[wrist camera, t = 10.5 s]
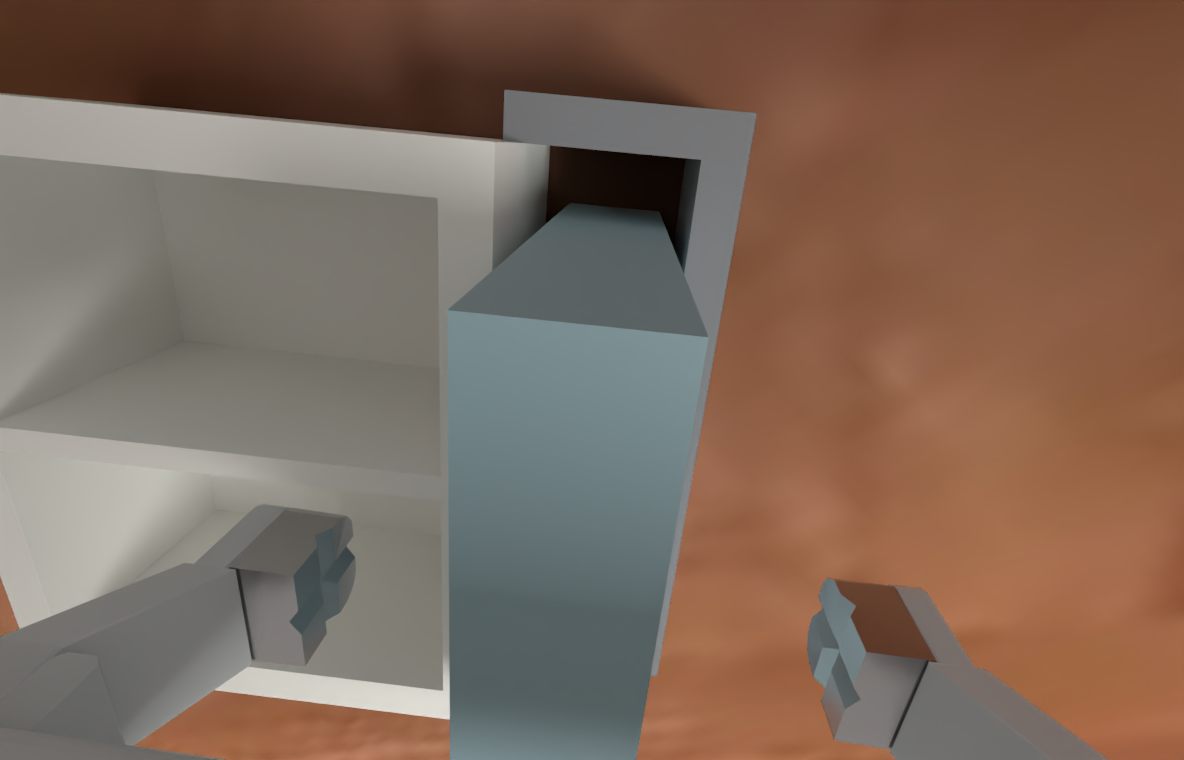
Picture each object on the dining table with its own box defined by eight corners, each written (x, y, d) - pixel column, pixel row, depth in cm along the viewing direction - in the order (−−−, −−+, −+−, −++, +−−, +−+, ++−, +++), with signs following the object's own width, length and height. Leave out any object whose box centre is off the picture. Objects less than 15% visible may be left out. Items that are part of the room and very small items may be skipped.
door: (659, 211, 17) (709, 337, 6) (619, 526, 21) (602, 954, 10) (570, 202, 17) (447, 310, 6) (547, 518, 21) (450, 933, 10)
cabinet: (728, 121, 16) (793, 103, 9) (653, 586, 22) (661, 772, 15) (126, 64, 16) (-210, 9, 10) (215, 535, 22) (44, 694, 16)
